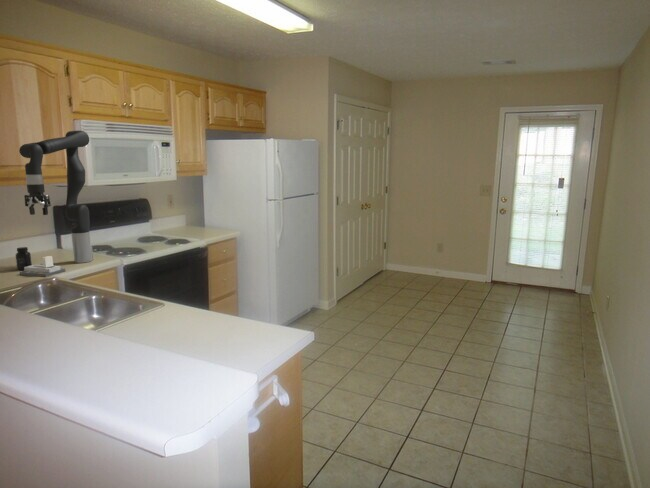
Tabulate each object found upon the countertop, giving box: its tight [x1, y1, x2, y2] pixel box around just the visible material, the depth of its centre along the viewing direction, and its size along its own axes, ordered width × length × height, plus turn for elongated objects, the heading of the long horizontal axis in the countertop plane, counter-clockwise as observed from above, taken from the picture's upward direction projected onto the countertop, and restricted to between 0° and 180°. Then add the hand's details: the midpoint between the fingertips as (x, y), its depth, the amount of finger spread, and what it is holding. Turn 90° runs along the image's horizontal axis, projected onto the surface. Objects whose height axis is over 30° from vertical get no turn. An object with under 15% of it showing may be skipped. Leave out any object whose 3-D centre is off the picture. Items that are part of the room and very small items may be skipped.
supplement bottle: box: [15, 246, 33, 271], centre depth 243 cm, size 7×7×12 cm
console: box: [19, 264, 66, 278], centre depth 234 cm, size 12×17×4 cm
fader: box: [41, 255, 54, 268], centre depth 232 cm, size 4×4×8 cm
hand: (39, 214), depth 234 cm, fingers open, 8 cm apart
